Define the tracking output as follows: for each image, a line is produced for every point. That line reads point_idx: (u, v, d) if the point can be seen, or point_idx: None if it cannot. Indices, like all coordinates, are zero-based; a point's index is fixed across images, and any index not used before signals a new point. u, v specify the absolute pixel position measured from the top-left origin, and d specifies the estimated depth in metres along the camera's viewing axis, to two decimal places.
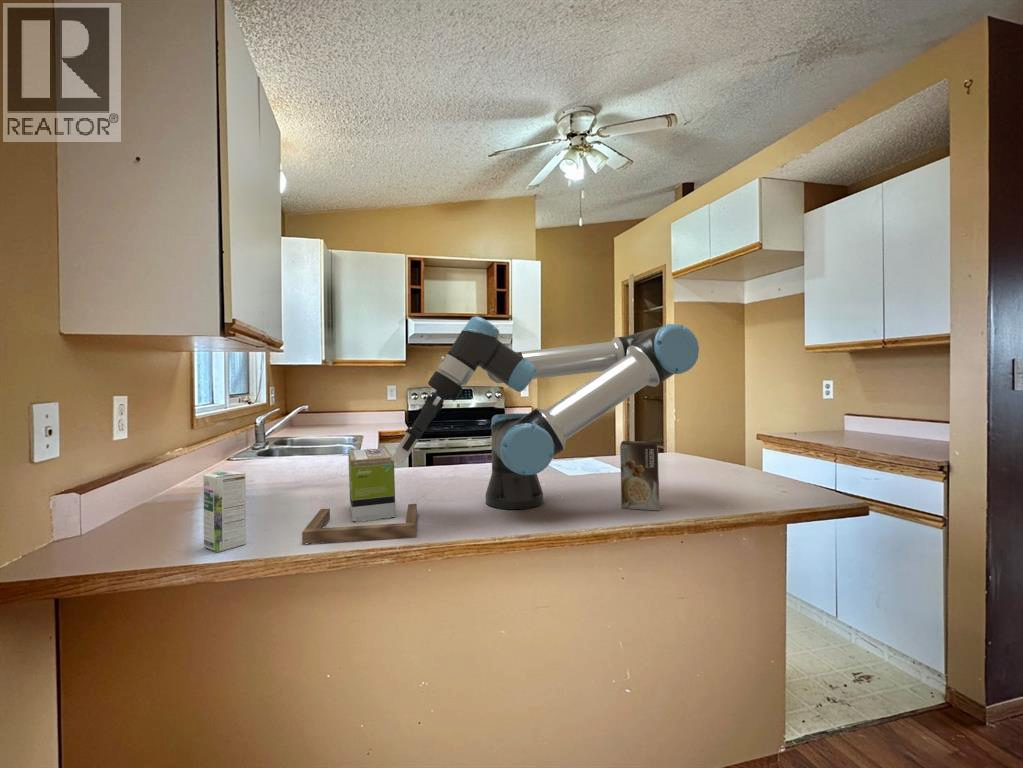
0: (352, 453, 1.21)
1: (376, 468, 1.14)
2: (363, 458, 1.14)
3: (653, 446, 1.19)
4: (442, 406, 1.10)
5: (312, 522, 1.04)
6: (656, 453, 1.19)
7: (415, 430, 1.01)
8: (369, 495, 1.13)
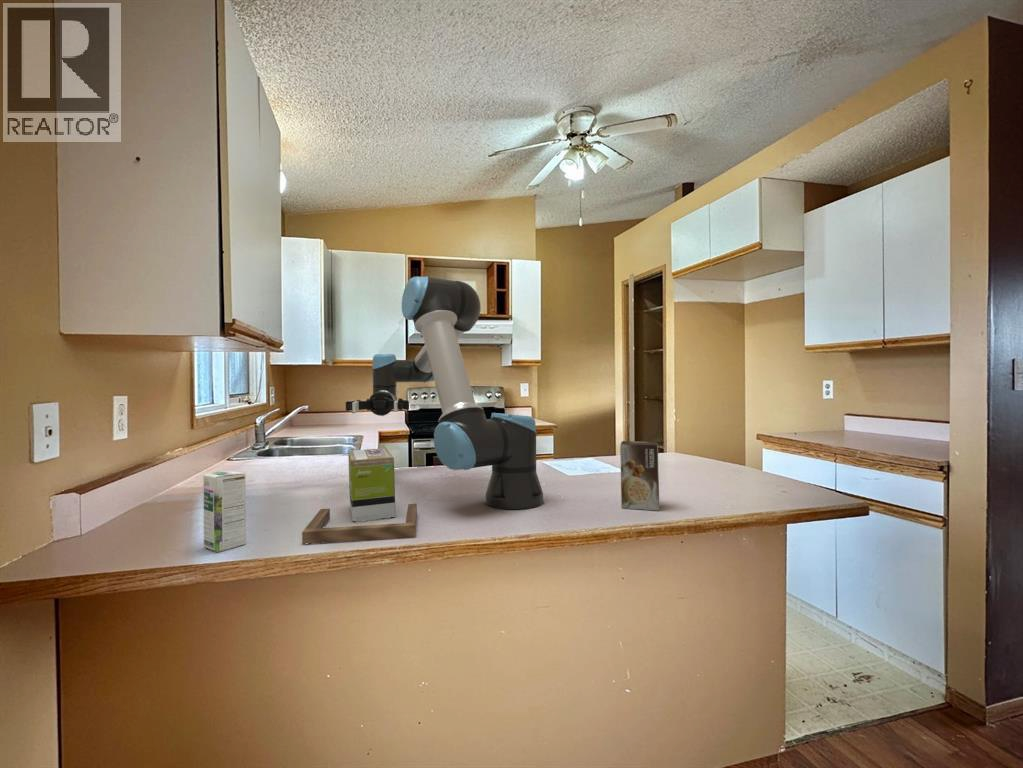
0: (352, 453, 1.21)
1: (376, 468, 1.14)
2: (363, 458, 1.14)
3: (653, 446, 1.19)
4: (373, 397, 1.47)
5: (312, 522, 1.04)
6: (656, 453, 1.19)
7: None
8: (369, 495, 1.13)
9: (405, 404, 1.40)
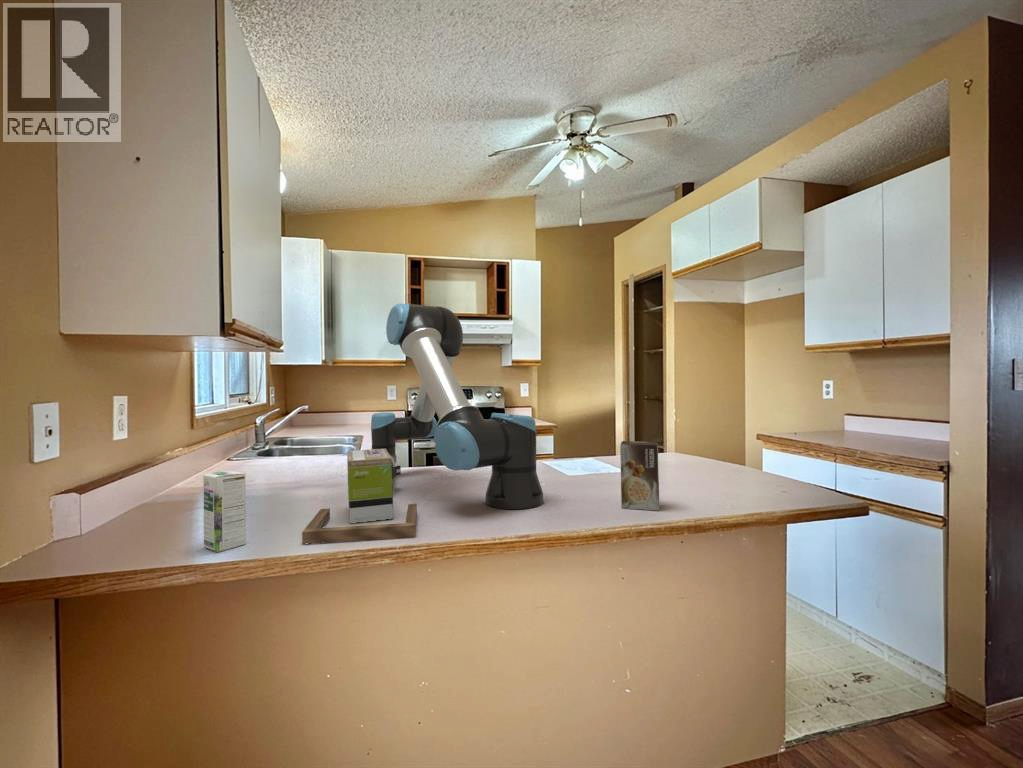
0: (350, 453, 1.19)
1: (373, 468, 1.12)
2: (360, 459, 1.12)
3: (653, 446, 1.19)
4: None
5: (312, 522, 1.04)
6: (656, 453, 1.19)
7: None
8: (367, 496, 1.12)
9: None
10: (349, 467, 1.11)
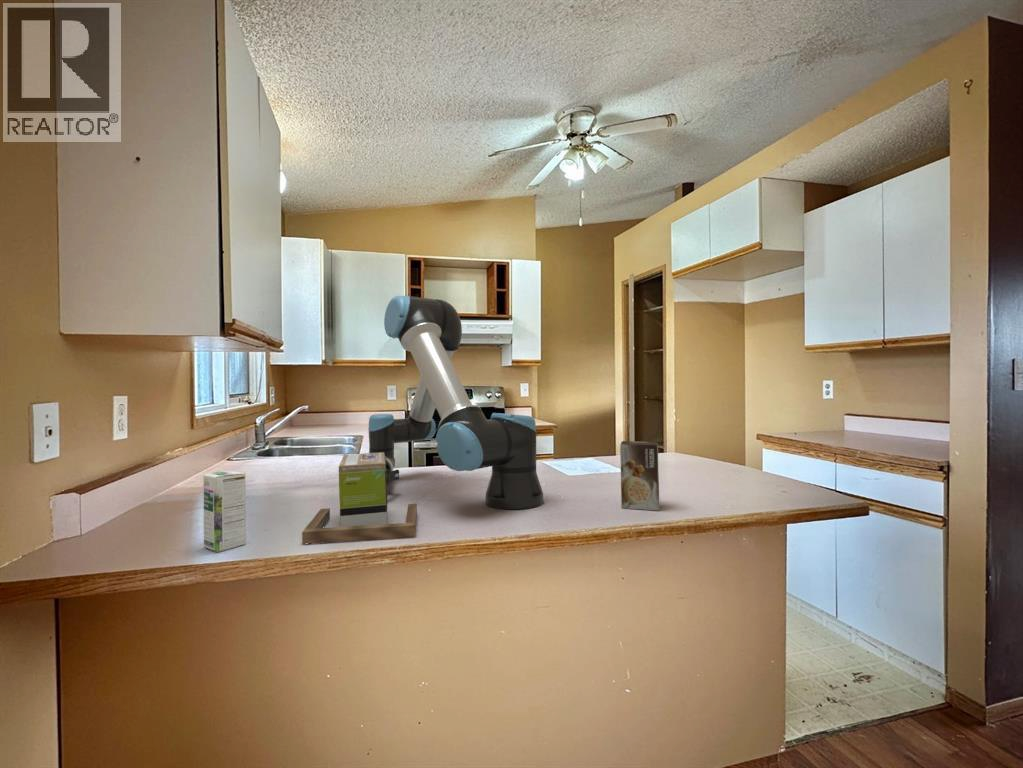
0: (345, 457, 1.13)
1: (365, 474, 1.06)
2: (352, 464, 1.06)
3: (653, 446, 1.19)
4: None
5: (312, 522, 1.04)
6: (656, 453, 1.19)
7: None
8: (358, 504, 1.06)
9: None
10: (340, 472, 1.05)
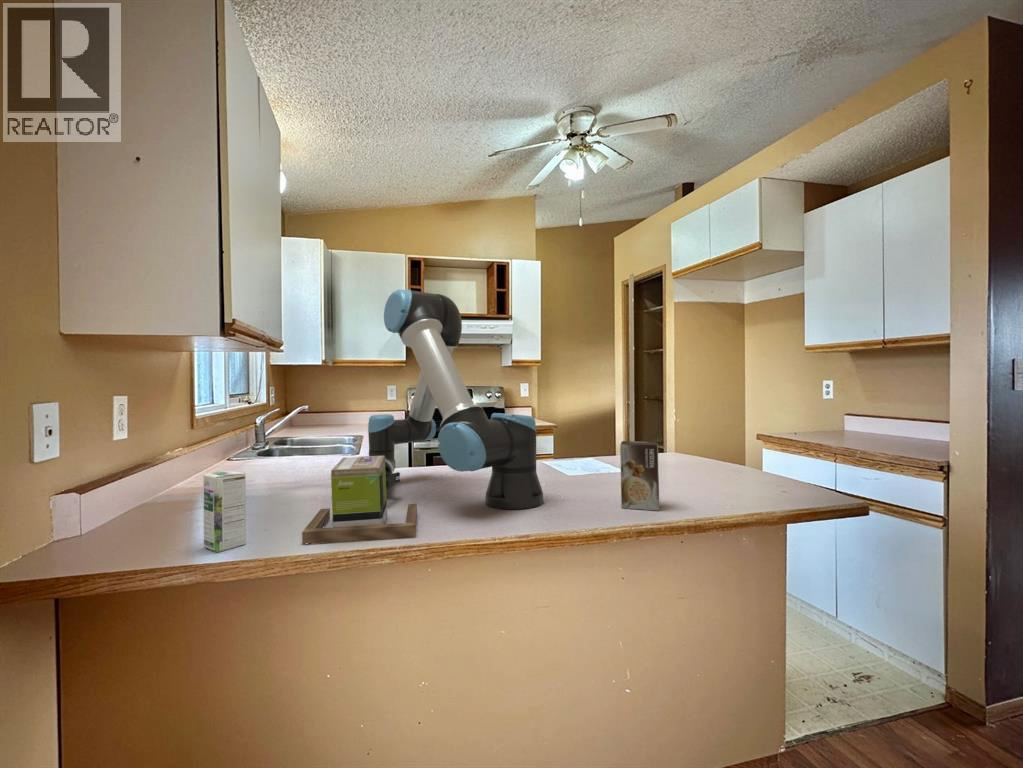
0: (342, 461, 1.09)
1: (359, 479, 1.01)
2: (345, 467, 1.02)
3: (653, 446, 1.19)
4: None
5: (312, 522, 1.04)
6: (656, 453, 1.19)
7: None
8: (352, 509, 1.01)
9: None
10: (332, 477, 1.00)
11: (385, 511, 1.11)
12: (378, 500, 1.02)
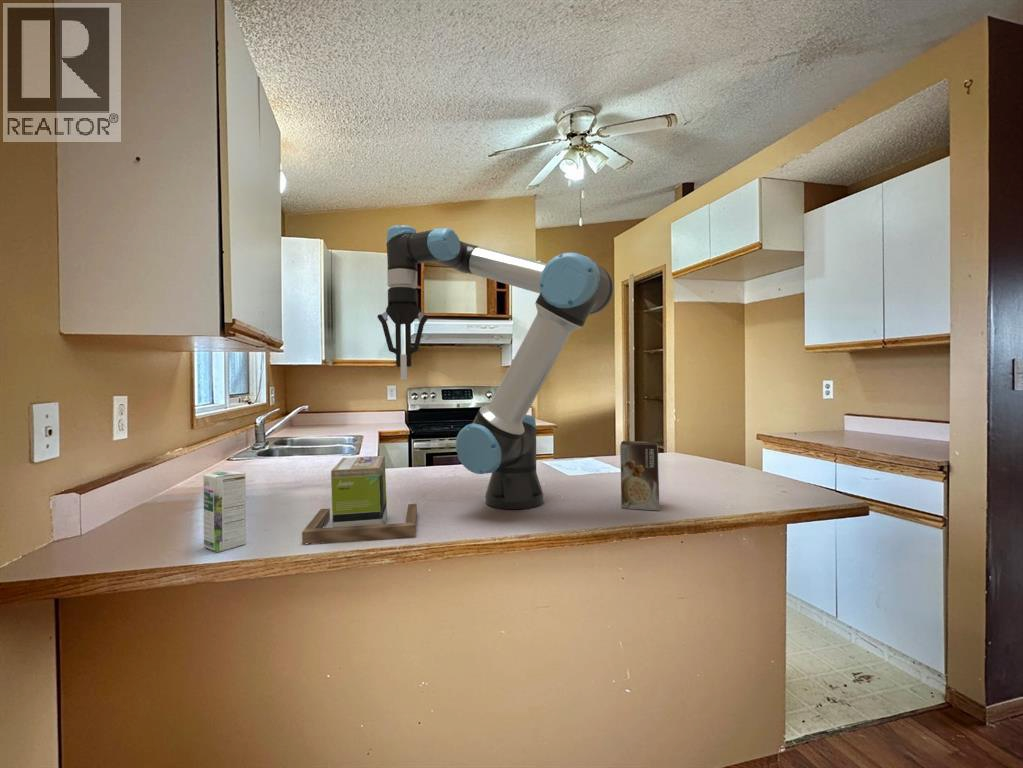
0: (342, 461, 1.09)
1: (359, 479, 1.01)
2: (345, 468, 1.02)
3: (653, 446, 1.19)
4: (395, 313, 1.25)
5: (312, 522, 1.04)
6: (656, 453, 1.19)
7: None
8: (352, 510, 1.01)
9: (414, 352, 1.28)
10: (332, 477, 1.00)
11: (385, 511, 1.11)
12: (378, 500, 1.02)
